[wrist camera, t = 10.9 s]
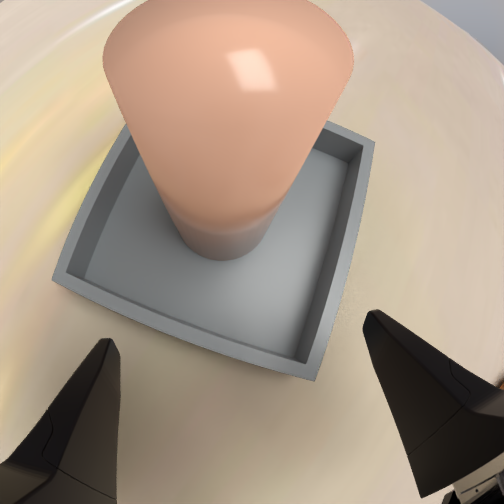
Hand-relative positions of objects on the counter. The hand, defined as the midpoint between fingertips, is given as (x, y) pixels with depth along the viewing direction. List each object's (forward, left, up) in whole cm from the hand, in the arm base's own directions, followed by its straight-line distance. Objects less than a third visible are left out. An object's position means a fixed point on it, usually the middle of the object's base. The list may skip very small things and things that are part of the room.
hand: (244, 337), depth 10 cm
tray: (+3, -7, -9) cm, 12 cm away
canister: (+3, -6, -8) cm, 11 cm away
